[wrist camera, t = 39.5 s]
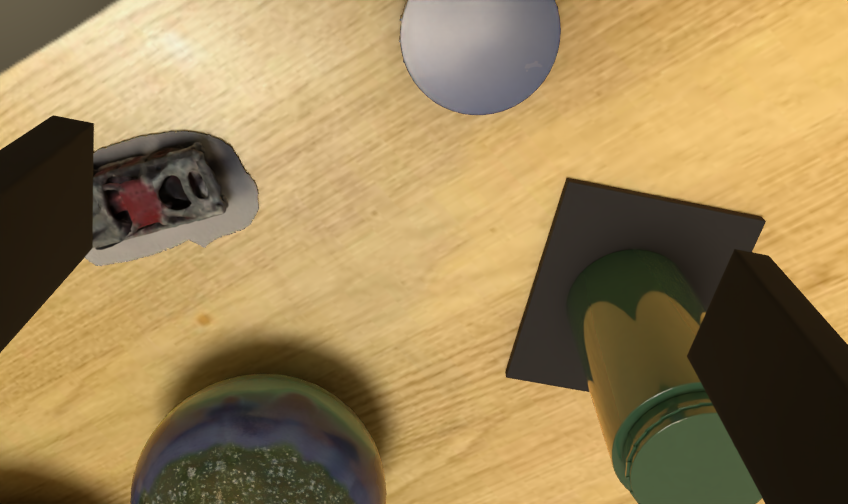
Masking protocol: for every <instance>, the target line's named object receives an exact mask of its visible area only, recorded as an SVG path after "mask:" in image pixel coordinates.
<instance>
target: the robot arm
mask: <svg viewBox="0 0 848 504" xmlns="http://www.w3.org/2000/svg"><path fill="white" fill-rule="evenodd" d="M93 142H94V123H89V122H84V121H79V120H74V119H69V118H64V117H58V116H51V117H50V118H48V119H47V120H45V121H44V122H42V123H41V124H39V125H38V126H36V127H35V128H33V129H32V130H30V131H29V132H27V133H26V134H24V135H23V136H21V137H19V138H18V139H16V140H15V141H13V142H12V143H10V144H9V145H7V146H6V147H4V148H3V149H1V150H0V353H1V351H2V350H3V349H4V348H5V347H6V346H7V345H8V343H9V342H10V341H11V340H12V339H13V338H14V337H15V336H16V334H17V333H18V332H19V331H20V330H21V329H22V328H23V326H24V325H25V324H26V323H27V322H28V321H29V320H30V319H31V317H32V316H33V315H34V314H35V313H36V312H37V311H38V309H39V308H40V307H41V306H42V305H43V304H44V303H45V302H46V300H47V299H48V298H49V297H50V296H51V295H52V294H53V293H54V291H55V290H56V289H57V288H58V287H59V286H60V285H61V283H62V282H63V281H64V280H65V279H66V278H67V277H68V276H69V274H70V273H71V272H72V271H73V270H74V269H75V268H76V266H77V265H78V264H79V263H80V262H81V261H82V260H83V259H84V257H85V256H86V255H87V254H88V253H89V252H90V251H91V249H92V248H93ZM687 358H688V359H689V361H690V363H691V365H692V367H693V369H694V371H695V373H696V374H697V376H698V378H699V380H700V382H701V384H702V386H703V388H704V389H705V391H706V393H707V395H708V397H709V399H710V401H711V402H712V404H713V406H714V408H715V410H716V412H717V414H718V416H719V417H720V419H721V421H722V423H723V425H724V427H725V429H726V431H727V432H728V434H729V436H730V438H731V440H732V442H733V444H734V446H735V447H736V449H737V451H738V453H739V455H740V457H741V459H742V461H743V462H744V464H745V466H746V468H747V470H748V472H749V474H750V476H751V477H752V479H753V481H754V483H755V485H756V487H757V489H758V491H759V492H760V494H761V496H762V498H763V500H764V502H765V504H848V345H847V344H846V342H845V341H844V340H843V339H842V338H841V337H840V336H839V334H838V333H837V332H836V331H835V330H834V329H833V328H832V327H831V325H830V324H829V323H828V322H827V321H826V320H825V319H824V318H823V316H822V315H821V314H820V313H819V312H818V311H817V310H816V309H815V307H814V306H813V305H812V304H811V303H810V302H809V301H808V299H807V298H806V297H805V296H804V295H803V294H802V293H801V292H800V290H799V289H798V288H797V287H796V286H795V285H794V284H793V283H792V281H791V280H790V279H789V278H788V277H787V276H786V275H785V273H784V272H783V271H782V270H781V269H780V268H779V267H778V266H777V264H776V263H775V262H774V261H773V260H772V259H771V258H770V257H769V256H767V255H762V254H757V253H752V252H747V251H742V250H737V249H734V251H733V253H732V256H731V258H730V260H729V262H728V265H727V267H726V269H725V271H724V274H723V276H722V278H721V280H720V283H719V285H718V287H717V289H716V291H715V294H714V296H713V298H712V300H711V303H710V305H709V307H708V309H707V312H706V314H705V316H704V318H703V321H702V323H701V325H700V327H699V330H698V332H697V334H696V336H695V339H694V341H693V343H692V345H691V348H690V350H689V352H688V354H687Z"/></svg>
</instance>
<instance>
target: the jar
mask: <svg viewBox="0 0 848 504" xmlns="http://www.w3.org/2000/svg"><path fill="white" fill-rule="evenodd" d="M706 312H707V309H706V308H705V306H704V304H703V303H702V301H701V300H700V298H699V297H698V295H697V293H696V292H695V290H694V289H693V287H692V286H691V284H690V282H689V281H688V279H687V278H686V276H685V275H684V273H683V272H682V270H681V269H680V268H679V267H678V266H677V264H676V263H674V262H673V261H672V260H670V259H669V258H667V257H665V256H664V255H661V254H659V253H656V252H652V251H648V250H640V249H631V250H622V251H618V252H614V253H611V254H608V255H606V256H604V257H601V258H599V259H598V260H596V261H595V262H593V263H591V264H590V265H589V266H588V267H586V268H585V269H584V270H583V271H582V272H581V273H580V274H579V276H578V277H577V278H576V280H575V281H574V283H573V285H572V286H571V289H570V291H569V293H568V297H567V302H566V315H567V320H568V324H569V327H570V330H571V333H572V337H573V340H574V343H575V346H576V349H577V353H578V356H579V359H580V362H581V365H582V369H583V372H584V375H585V378H586V381H587V385H588V388H589V391H590V394H591V398H592V401H593V404H594V407H595V410H596V414H597V417H598V420H599V423H600V426H601V430H602V433H603V436H604V439H605V442H606V446H607V449H608V452H609V455H610V458H611V462H612V465H613V468H614V471H615V473H616V475H617V477H618V479H619V480H620V482H621V483H622V484H623V485H624V486H625V488H626V489H628V490H629V491H630V493H631V494H632V496H633V497H634V498H635V500H636V501H637V502H638V504H756V503H757V502H759V501H760V500H761V499H762V496H761V494H760V492H759V491H758V489H757V487H756V485H755V483H754V481H753V479H752V477H751V476H750V474H749V472H748V470H747V468H746V466H745V464H744V462H743V461H742V459H741V457H740V455H739V453H738V451H737V449H736V447H735V446H734V444H733V442H732V440H731V438H730V436H729V434H728V432H727V431H726V429H725V427H724V425H723V423H722V421H721V419H720V417H719V416H718V414H717V412H716V410H715V408H714V406H713V404H712V402H711V401H710V399H709V397H708V395H707V393H706V391H705V389H704V388H703V386H702V384H701V382H700V380H699V378H698V376H697V374H696V373H695V371H694V369H693V367H692V365H691V363H690V361H689V359H688V358H687V354H688V352H689V350H690V348H691V345H692V343H693V341H694V339H695V336H696V334H697V332H698V330H699V327H700V325H701V323H702V321H703V318H704V316H705V314H706Z"/></svg>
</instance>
